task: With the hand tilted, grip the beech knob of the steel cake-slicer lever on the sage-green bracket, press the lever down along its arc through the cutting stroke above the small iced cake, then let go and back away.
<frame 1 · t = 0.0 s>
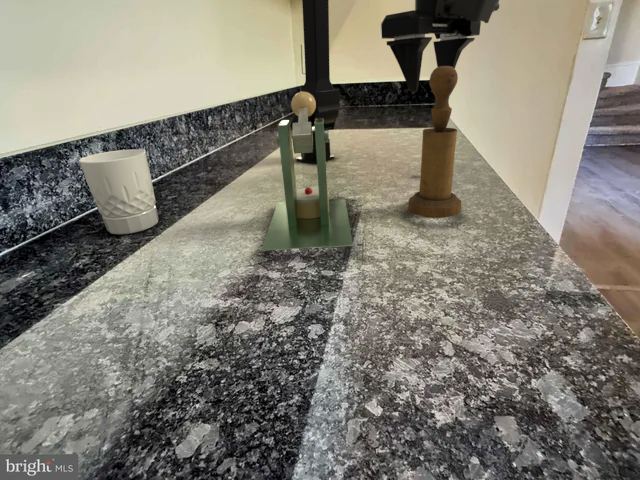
hand: (429, 89, 58), 15 cm above the worktop, tool pointing down, fingers open, 9 cm apart
slicer bracket: (310, 228, 47), on the worktop
slicer lever: (303, 119, 45), point 13 cm above the worktop, hinge at 22.0°
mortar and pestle: (433, 218, 48), on the worktop
white cup: (134, 226, 52), on the worktop
cake: (310, 211, 49), resting on slicer bracket
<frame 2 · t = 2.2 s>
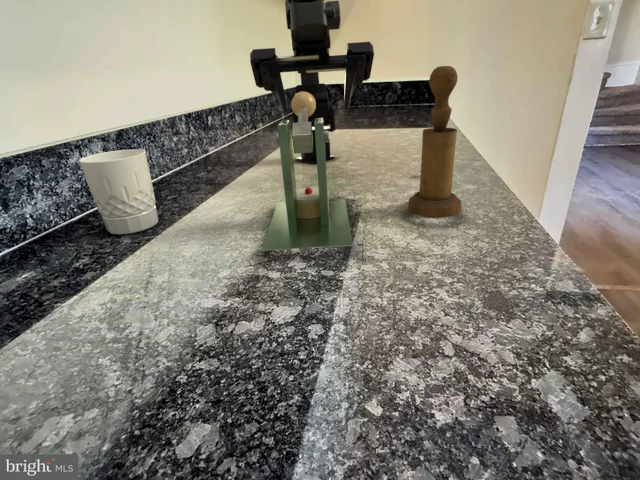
hand: (316, 110, 55), 13 cm above the worktop, tool tilted 40°, fingers open, 9 cm apart
nothing on the worktop moved.
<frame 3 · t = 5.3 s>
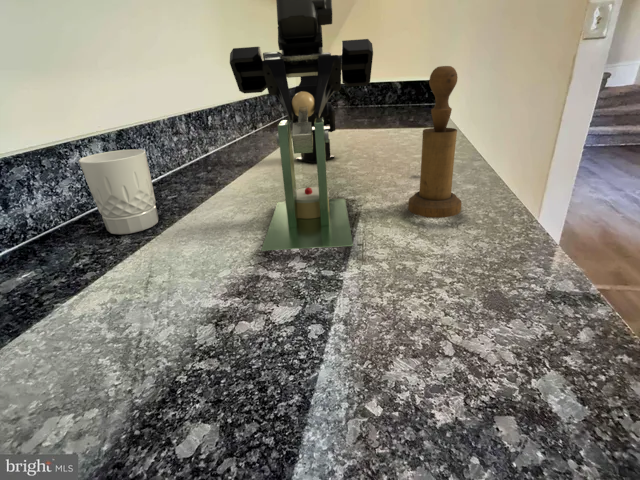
hand: (304, 117, 47), 13 cm above the worktop, tool tilted 45°, fingers closed on slicer lever, 3 cm apart
slicer lever: (303, 119, 45), point 13 cm above the worktop, hinge at 22.0°, touching gripper
everything else where it was.
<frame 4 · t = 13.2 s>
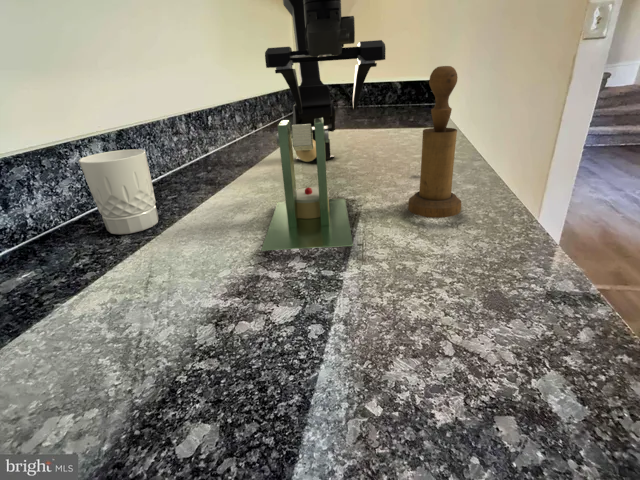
hand: (327, 111, 62), 12 cm above the worktop, tool pointing down, fingers open, 9 cm apart
slicer lever: (305, 144, 46), point 10 cm above the worktop, hinge at -20.7°
everything else where it was.
at the end: slicer lever at -21° (first picture: +22°) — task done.
